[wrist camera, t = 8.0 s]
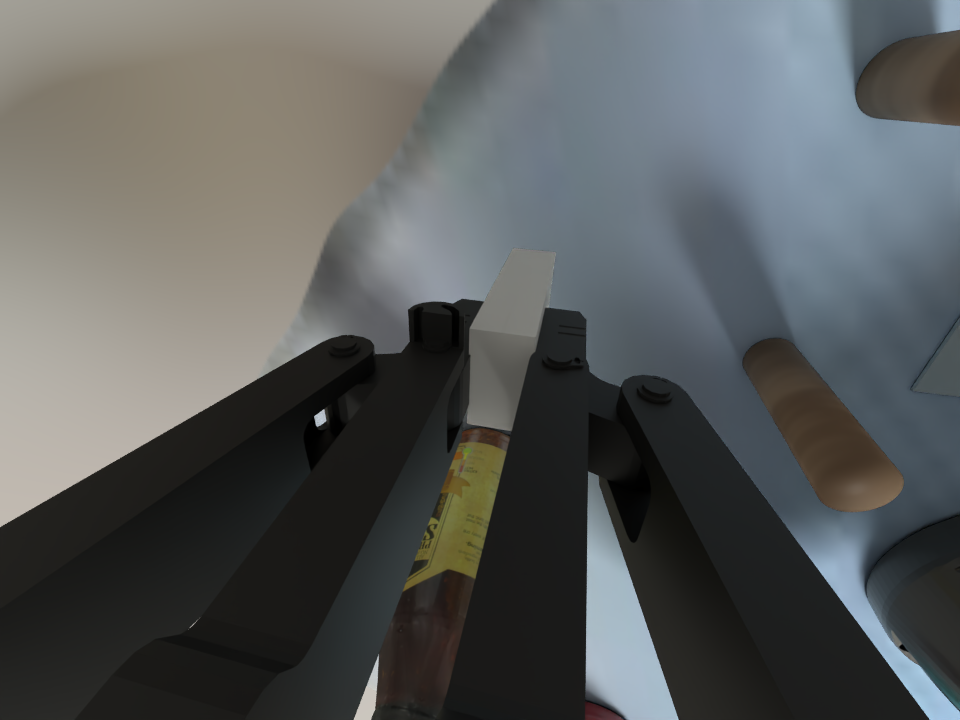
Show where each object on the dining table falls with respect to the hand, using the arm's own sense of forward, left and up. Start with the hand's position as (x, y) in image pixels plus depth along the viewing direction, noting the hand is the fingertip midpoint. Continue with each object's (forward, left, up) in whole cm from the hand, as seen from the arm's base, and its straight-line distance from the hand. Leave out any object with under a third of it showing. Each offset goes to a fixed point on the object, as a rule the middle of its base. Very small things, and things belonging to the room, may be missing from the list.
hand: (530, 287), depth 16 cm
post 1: (-13, +6, -8) cm, 16 cm away
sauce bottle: (+2, +16, -8) cm, 18 cm away
